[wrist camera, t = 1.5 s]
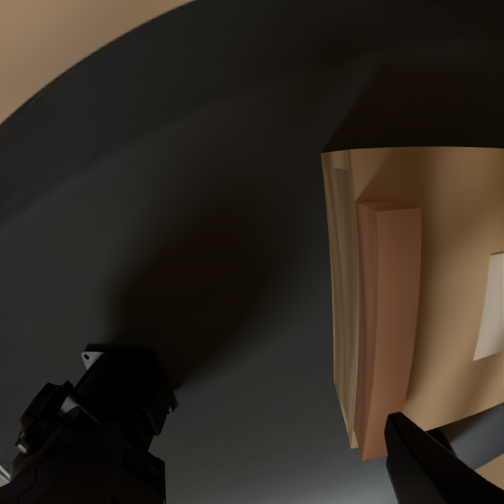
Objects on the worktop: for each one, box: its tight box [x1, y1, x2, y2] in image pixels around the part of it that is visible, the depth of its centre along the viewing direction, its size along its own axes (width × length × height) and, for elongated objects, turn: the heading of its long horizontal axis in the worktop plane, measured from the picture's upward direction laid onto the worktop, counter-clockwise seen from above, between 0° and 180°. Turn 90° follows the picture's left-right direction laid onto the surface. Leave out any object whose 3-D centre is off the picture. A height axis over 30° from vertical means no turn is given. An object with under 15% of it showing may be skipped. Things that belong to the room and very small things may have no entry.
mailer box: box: [321, 150, 356, 437], centre depth 17 cm, size 18×16×6 cm
